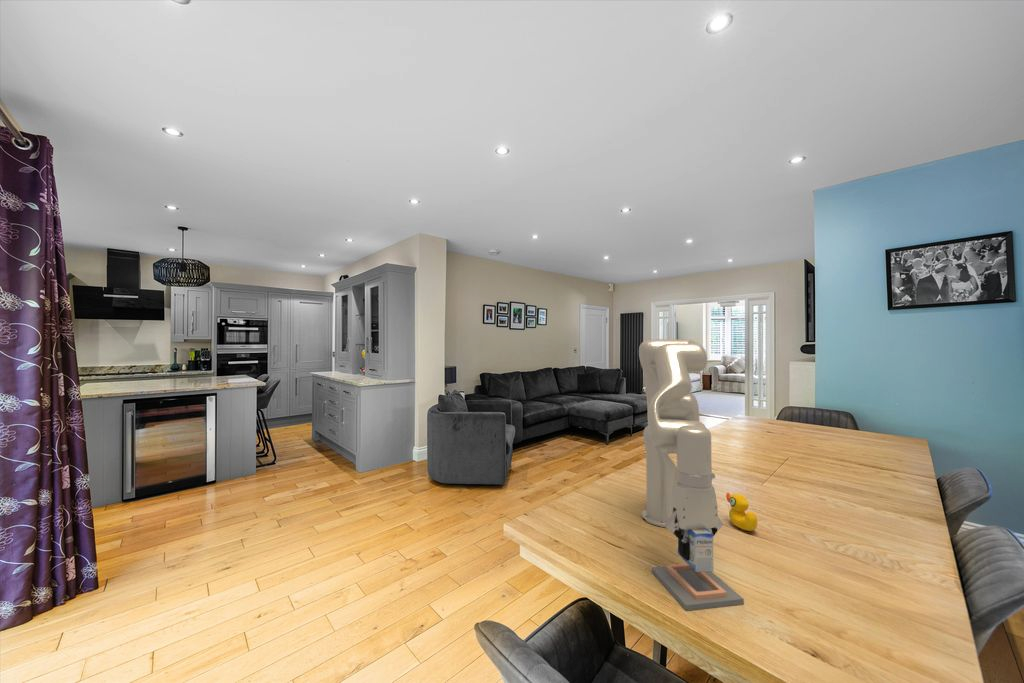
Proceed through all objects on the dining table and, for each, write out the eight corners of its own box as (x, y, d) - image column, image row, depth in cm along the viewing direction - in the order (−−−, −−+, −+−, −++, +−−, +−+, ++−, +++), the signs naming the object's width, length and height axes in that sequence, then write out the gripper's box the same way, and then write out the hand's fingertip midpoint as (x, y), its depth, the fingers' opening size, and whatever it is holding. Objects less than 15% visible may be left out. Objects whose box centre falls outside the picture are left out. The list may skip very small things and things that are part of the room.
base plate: (701, 567, 95) (701, 558, 95) (743, 604, 81) (743, 594, 82) (651, 572, 93) (651, 563, 93) (686, 610, 79) (686, 600, 79)
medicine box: (676, 553, 91) (676, 518, 91) (694, 553, 91) (693, 517, 92) (695, 572, 83) (695, 533, 83) (714, 571, 84) (713, 533, 84)
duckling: (720, 519, 123) (719, 489, 123) (734, 518, 124) (734, 488, 124) (747, 536, 111) (746, 503, 112) (762, 535, 112) (762, 502, 113)
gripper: (714, 472, 93) (715, 545, 92) (652, 475, 90) (653, 550, 90) (737, 482, 86) (738, 562, 85) (670, 486, 83) (671, 568, 82)
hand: (694, 555), depth 87 cm, fingers closed on medicine box, 4 cm apart
